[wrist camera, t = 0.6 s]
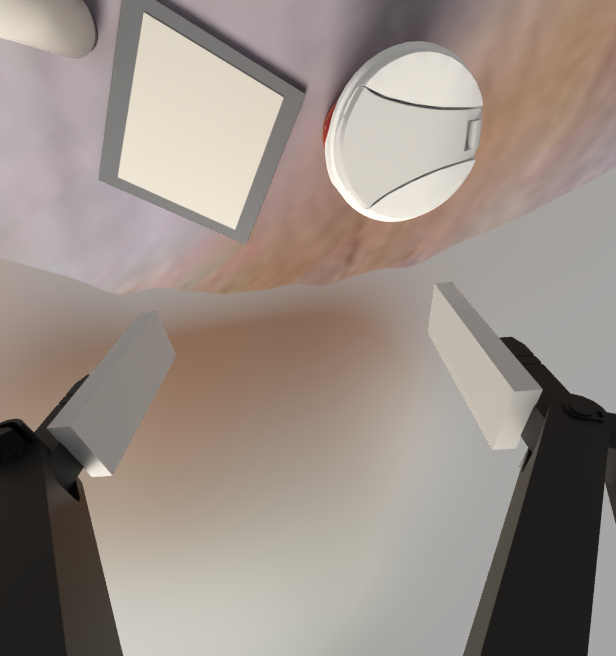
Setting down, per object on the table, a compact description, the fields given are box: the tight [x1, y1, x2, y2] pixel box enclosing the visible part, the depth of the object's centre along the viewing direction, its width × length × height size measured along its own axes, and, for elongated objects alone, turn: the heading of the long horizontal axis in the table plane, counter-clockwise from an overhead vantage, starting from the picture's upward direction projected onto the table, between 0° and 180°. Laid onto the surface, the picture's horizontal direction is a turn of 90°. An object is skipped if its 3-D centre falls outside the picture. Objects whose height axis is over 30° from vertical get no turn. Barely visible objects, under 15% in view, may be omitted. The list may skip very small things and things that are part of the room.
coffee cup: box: [323, 41, 483, 222], centre depth 22 cm, size 8×8×15 cm
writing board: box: [99, 0, 305, 244], centre depth 27 cm, size 14×14×1 cm
